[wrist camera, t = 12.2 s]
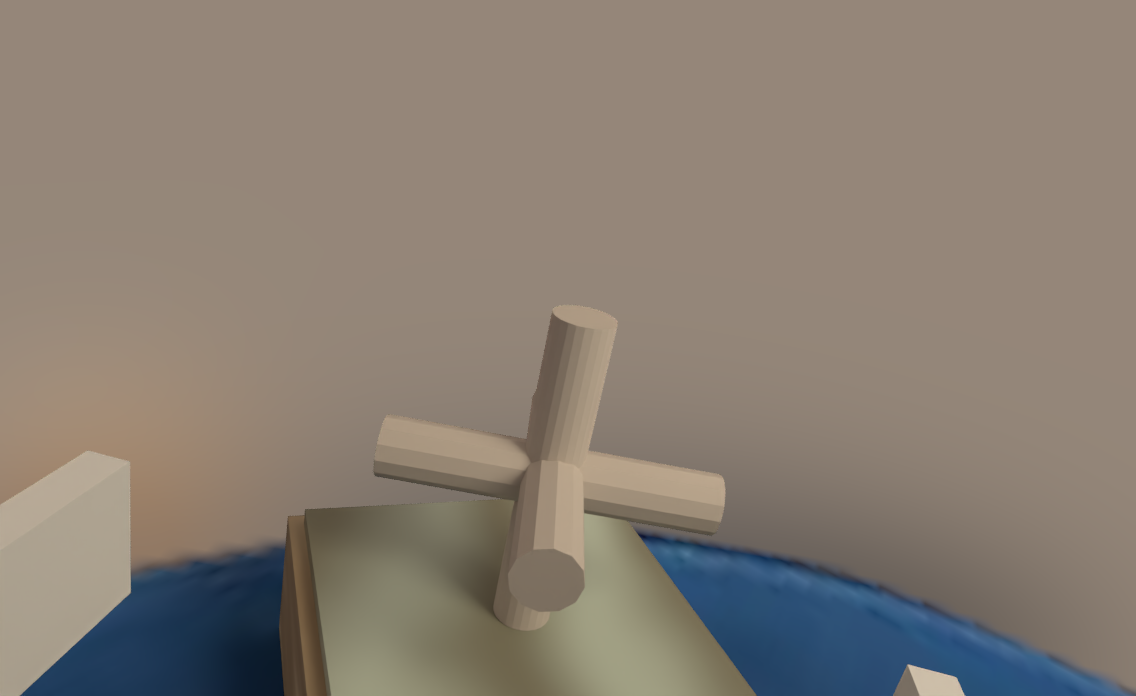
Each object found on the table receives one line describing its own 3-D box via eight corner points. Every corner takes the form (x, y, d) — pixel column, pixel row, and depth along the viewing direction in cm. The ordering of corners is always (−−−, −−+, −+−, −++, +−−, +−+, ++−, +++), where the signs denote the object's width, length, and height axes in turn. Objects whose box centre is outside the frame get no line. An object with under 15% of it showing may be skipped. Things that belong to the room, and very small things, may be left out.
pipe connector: (659, 543, 29) (729, 298, 26) (697, 772, 20) (816, 433, 16) (399, 497, 28) (435, 240, 25) (312, 710, 19) (349, 347, 16)
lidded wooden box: (585, 592, 34) (613, 486, 32) (750, 875, 23) (806, 741, 21) (279, 626, 29) (289, 502, 27) (307, 1016, 18) (328, 855, 16)
